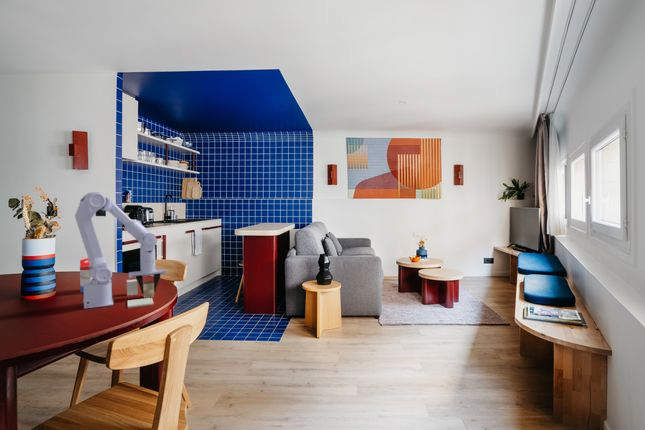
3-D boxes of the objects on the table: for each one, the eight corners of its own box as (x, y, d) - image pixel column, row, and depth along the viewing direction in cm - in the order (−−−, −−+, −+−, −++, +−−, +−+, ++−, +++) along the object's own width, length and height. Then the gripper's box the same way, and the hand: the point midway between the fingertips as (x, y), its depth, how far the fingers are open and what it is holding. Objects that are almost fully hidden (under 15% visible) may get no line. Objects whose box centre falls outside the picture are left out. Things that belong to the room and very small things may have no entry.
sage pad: (127, 307, 138) (127, 306, 138) (127, 302, 146) (127, 300, 146) (153, 304, 142) (153, 303, 142) (152, 299, 150) (152, 297, 150)
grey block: (127, 295, 155) (126, 282, 155) (127, 293, 159) (126, 280, 159) (137, 294, 157) (137, 281, 157) (137, 292, 161) (137, 279, 161)
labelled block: (143, 298, 151) (143, 283, 151) (143, 296, 155) (142, 281, 155) (154, 297, 153) (153, 282, 153) (153, 294, 157) (153, 280, 156)
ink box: (90, 292, 160) (90, 260, 159) (80, 292, 160) (79, 260, 160) (103, 288, 169) (102, 257, 168) (92, 288, 169) (91, 256, 168)
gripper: (165, 258, 160) (166, 288, 161) (128, 260, 153) (129, 292, 154) (167, 260, 154) (167, 292, 155) (128, 263, 147) (129, 296, 148)
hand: (148, 292), depth 154 cm, fingers closed on labelled block, 4 cm apart
